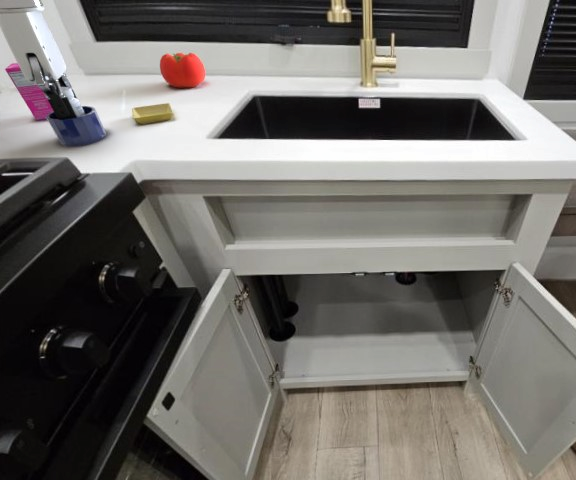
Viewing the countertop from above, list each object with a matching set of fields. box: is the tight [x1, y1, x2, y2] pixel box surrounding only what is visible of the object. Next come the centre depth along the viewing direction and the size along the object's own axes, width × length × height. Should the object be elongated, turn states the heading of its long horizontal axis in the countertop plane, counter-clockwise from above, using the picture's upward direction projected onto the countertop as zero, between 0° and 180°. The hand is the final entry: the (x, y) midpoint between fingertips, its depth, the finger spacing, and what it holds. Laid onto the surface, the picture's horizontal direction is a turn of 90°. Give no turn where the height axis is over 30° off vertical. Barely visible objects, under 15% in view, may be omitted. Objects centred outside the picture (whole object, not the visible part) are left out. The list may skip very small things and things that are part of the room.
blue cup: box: [46, 105, 107, 147], centre depth 67 cm, size 9×9×6 cm
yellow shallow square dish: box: [131, 102, 174, 125], centre depth 77 cm, size 9×9×2 cm
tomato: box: [159, 52, 206, 89], centre depth 97 cm, size 13×12×8 cm
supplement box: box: [4, 62, 53, 122], centre depth 76 cm, size 6×6×12 cm
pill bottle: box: [61, 87, 86, 117], centre depth 65 cm, size 5×5×8 cm
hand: (70, 114), depth 66 cm, fingers closed on pill bottle, 4 cm apart
